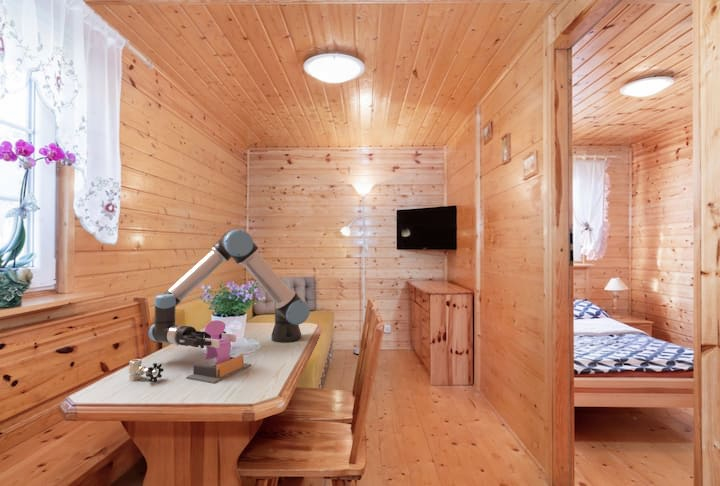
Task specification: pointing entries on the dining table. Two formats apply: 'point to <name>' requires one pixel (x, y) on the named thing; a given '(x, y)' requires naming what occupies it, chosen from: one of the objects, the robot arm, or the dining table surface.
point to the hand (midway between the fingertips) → (227, 341)
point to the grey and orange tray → (218, 370)
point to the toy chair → (223, 351)
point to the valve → (143, 370)
